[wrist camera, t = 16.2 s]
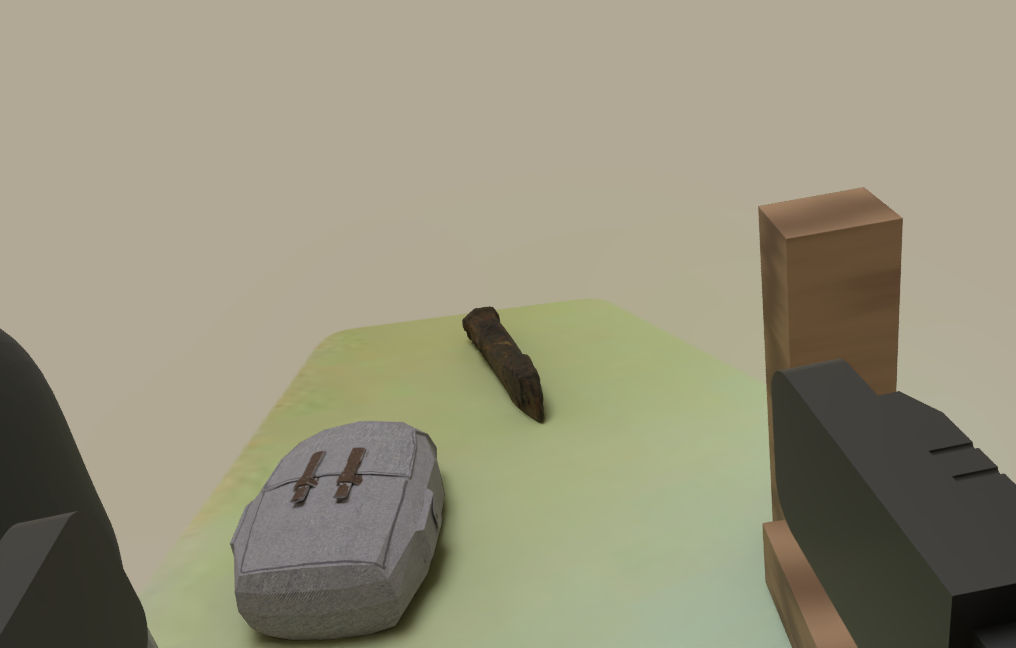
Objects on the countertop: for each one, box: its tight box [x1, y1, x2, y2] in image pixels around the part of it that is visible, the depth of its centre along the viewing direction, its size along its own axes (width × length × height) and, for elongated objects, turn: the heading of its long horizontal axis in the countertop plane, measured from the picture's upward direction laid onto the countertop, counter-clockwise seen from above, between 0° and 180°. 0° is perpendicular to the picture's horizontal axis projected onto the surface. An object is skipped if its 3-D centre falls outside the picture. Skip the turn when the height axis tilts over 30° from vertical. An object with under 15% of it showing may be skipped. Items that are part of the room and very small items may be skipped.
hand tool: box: [462, 307, 544, 422], centre depth 83 cm, size 19×4×5 cm, turn 16°
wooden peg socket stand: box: [758, 187, 903, 648], centre depth 41 cm, size 29×10×24 cm, turn 2°
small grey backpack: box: [230, 421, 444, 640], centre depth 64 cm, size 15×8×20 cm
